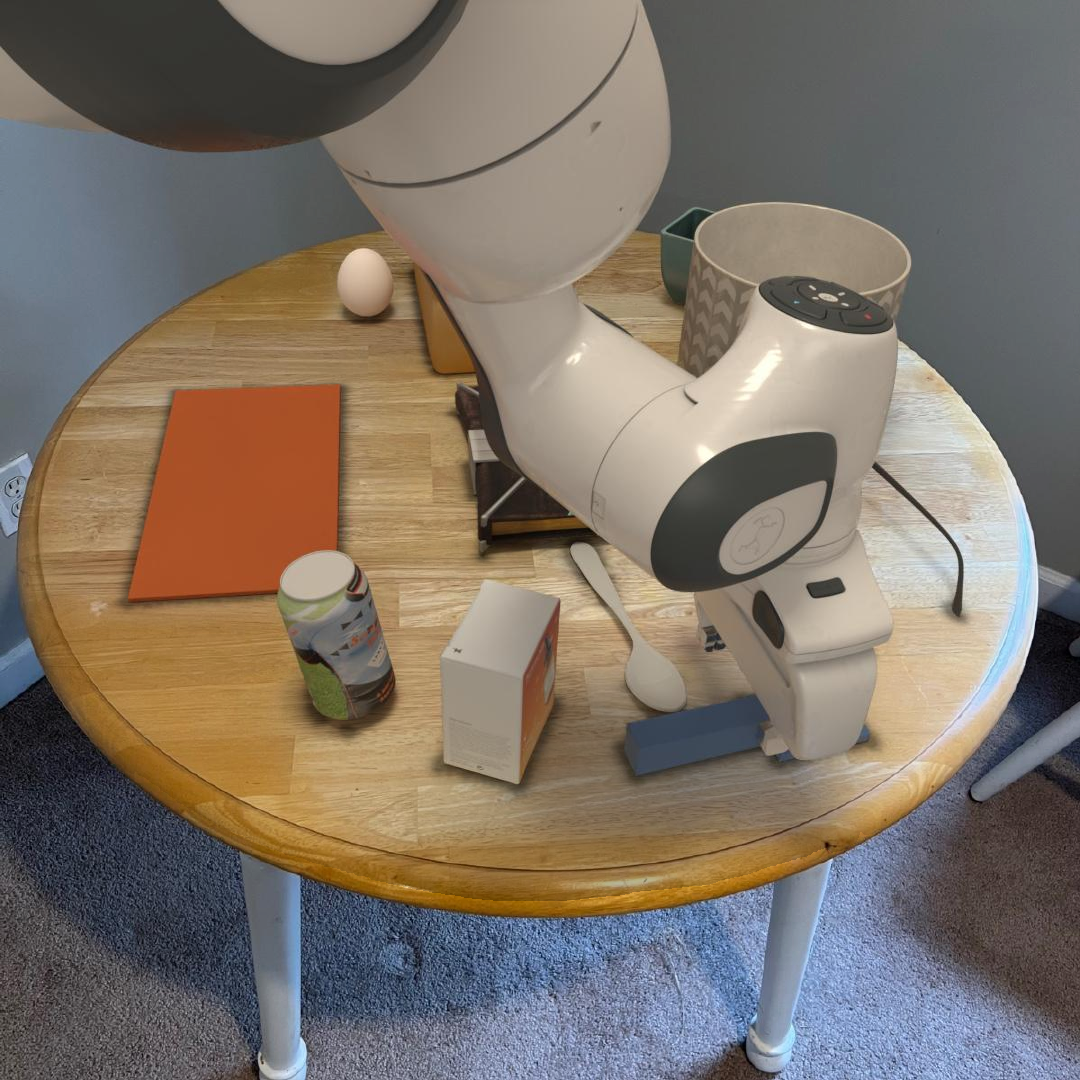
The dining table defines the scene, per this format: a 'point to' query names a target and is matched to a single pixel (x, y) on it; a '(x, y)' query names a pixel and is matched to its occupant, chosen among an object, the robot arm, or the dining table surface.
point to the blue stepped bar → (698, 735)
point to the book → (508, 490)
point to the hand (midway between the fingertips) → (739, 692)
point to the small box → (499, 680)
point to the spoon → (635, 643)
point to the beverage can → (336, 634)
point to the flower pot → (679, 252)
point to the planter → (780, 267)
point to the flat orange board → (240, 491)
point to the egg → (365, 282)
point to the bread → (440, 332)
